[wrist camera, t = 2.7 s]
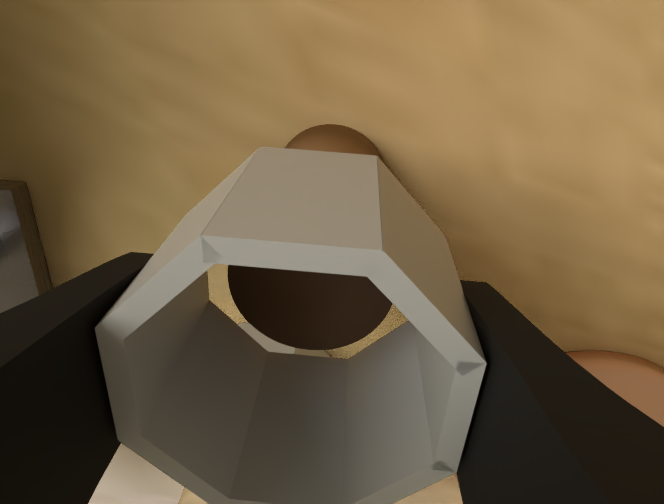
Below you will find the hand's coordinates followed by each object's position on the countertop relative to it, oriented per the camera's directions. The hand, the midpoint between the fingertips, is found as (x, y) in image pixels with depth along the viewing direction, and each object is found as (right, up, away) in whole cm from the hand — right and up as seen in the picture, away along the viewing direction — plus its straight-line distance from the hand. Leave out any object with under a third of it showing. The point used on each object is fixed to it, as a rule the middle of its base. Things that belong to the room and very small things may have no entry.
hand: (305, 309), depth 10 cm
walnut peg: (+1, +4, +6) cm, 7 cm away
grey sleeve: (0, +1, +1) cm, 1 cm away
